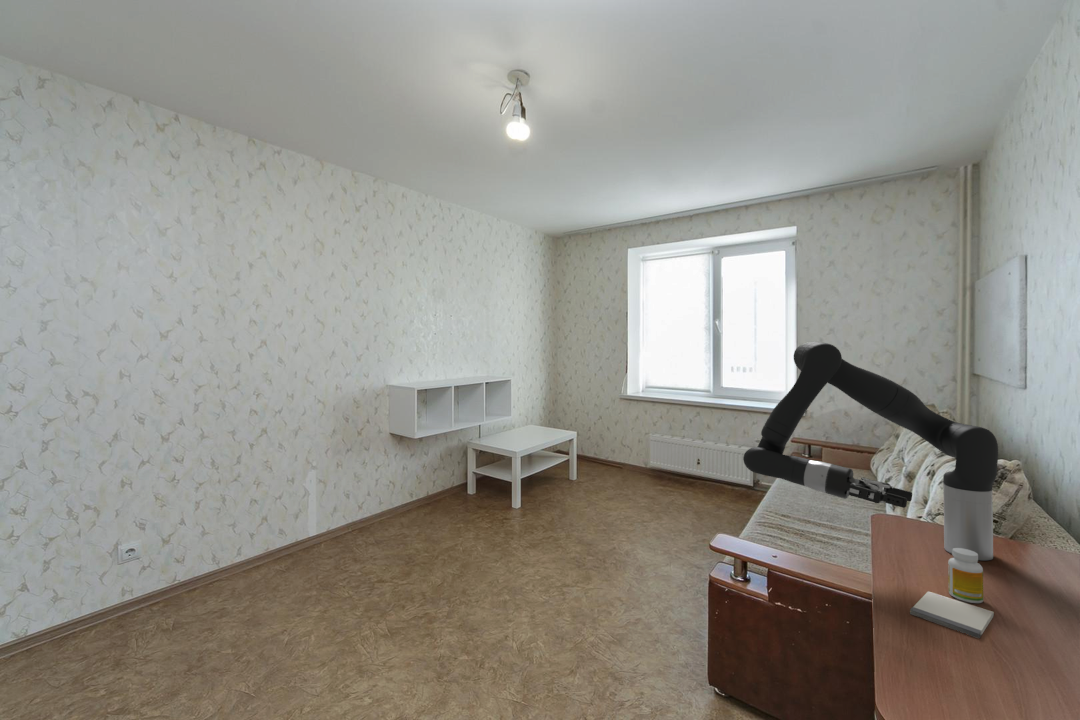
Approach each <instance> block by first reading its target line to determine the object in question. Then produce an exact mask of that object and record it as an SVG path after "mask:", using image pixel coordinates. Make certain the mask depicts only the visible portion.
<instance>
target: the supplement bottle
mask: <svg viewBox="0 0 1080 720" xmlns="http://www.w3.org/2000/svg"><path fill="white" fill-rule="evenodd" d="M951 555H952V557H950V558H949V559H948V563H947V565H948V568H947V571H948V574H947V575H948V577H947V579H948V580H947V582H948V594H949V595H950V596H952V597H953V598H955V599H956V600H958V601H961V602H964V603H968V604H981V603H983V602H984V568H983V566H982V565H981V564H980V563H978V562H979V560H978V554H977V553H976V552H974V551H971V550H968V549H963V548H953V549H952V553H951Z"/></svg>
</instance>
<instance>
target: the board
mask: <svg viewBox="0 0 1080 720" xmlns="http://www.w3.org/2000/svg"><path fill="white" fill-rule="evenodd" d="M994 614H995V613H994V611H991V610H989V609H985V608H982V607H980V606H976V605H973V604H971V603H968V602H965V601H962V600H959V599H954V598H951V597H948V596H944V595H941V594H939V593H936V592H931V591H929V590H928V591H926V593H925V594H924V595H923V596H922V597H921V598H920V599H919V600H918V601H917V602H916V603H915V604H914V606H912V607H911V608H910V609H909V615H911V616H915V617H917V618H921V619H922V620H926V621H928V622H931V623H934V624H937V625H940V626H943V627H945V628H948V629H951V630H953V631H956V630H957V631H956V632H959V631H960V632H959V633H962V634H964V633H966V634H965V635H967V634H968V635H967V636H970V635H971V636H970V637H974V638H976V639H978V638H979V639H981V637H982V635H983V633H984V632H985V630H986V629H987V628H988V626H989V624H990V623H991V621H992V619H993V618H994V617H995V616H994Z"/></svg>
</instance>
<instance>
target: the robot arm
mask: <svg viewBox="0 0 1080 720" xmlns="http://www.w3.org/2000/svg"><path fill="white" fill-rule="evenodd" d="M841 353H842V352H841V351H840V350H839V348H838V347H837V346H835V345H834V344H830V343H827V342H821V341H808V342H804V343H802V344H800V345H799V346H797V347H796V349H795V350H794V353H793V362H794V364H795V366H796V368H797V369H799V371H800V372H799V375H798V377H797V380H796V381H795V383H794V384H793V386H792V387H791V388H790V389H789V391H788V392H787V393H786V394H785V395H784V397H783V398H782V399H781V400H780V401H779V402H778V403H777V404H776V406H775V407H774V408H773V409H772V411H771V413H770V414H769V416H768V418H767V420H766V421H765V423H764V425H763V427H762V429H761V433H760V435H761V439H760V441H759V443H758V446H754V447H751V448H749V449H747V450H746V451H745V452H744V454H743V457H742V458H743V459H742V460H743V464H744V466H745V467H746V468H747V469H748V471H751V472H752V473H755V474H758V475H763V476H767V477H771V478H776V479H782V480H785V481H788V482H790V483H793V484H796V485H800V486H804V487H807V488H809V489H811V490H814V491H816V492H817V491H818V492H820V493H824V494H827V495H829V496H830V495H831V496H834V497H838V498H841V499H844V500H845V499H848V498H849V496H850V497H855V498H858V499H861V500H865V501H868V502H872V503H875V504H887V505H892V506H896V507H898V508H899V507H900V508H903V509H904V508H906V507H907V505H908V502H911V501H912V499H913V492H912V491H909V490H906V489H901V488H897V487H893V485H891V484H890V483H889V482H883V481H879V480H874V479H871V478H866V477H861V478H859V479H858V478H854V470H853V469H852V468H850V467H845V466H841V465H838V464H837V465H836V464H834V463H829V462H825V461H821V460H813V459H809V458H805V457H800V456H797V455H796V456H795V455H788V454H784V451H785V448H786V446H787V444H788V442H789V440H790V439H791V437H792V436H793V433H794V432H795V430H796V428H797V426H798V424H799V423H800V422H801V420H802V418H803V416H804V415H805V413H806V412H807V411H808V409H809V407H810V406H811V405H812V403H813V401H814V400H816V397H817V396H818V395H819V394H820V393H821V391H822V390H823V388H824V387H825V386H826V385H827V384H829V385H830V386H833V387H835V388H837V389H838V390H839V391H841V392H842V393H844V394H845V395H846V396H848V397H849V398H851V399H852V400H854V401H856V402H857V403H859V404H860V405H862V406H863V407H865V408H866V409H868V410H870V411H871V412H873V413H874V414H877V415H879V416H880V417H882V418H883V419H886V420H888V421H889V422H892V423H893V424H895V425H897V426H899V427H902V428H904V429H906V430H908V431H910V432H912V433H914V434H916V435H918V436H919V437H920V438H922V439H923V440H925V441H926V442H928V444H930V445H932V446H933V447H934V448H936V449H937V450H938V451H939V452H941V453H943V454H945V455H946V456H949V457H951V458H954V459H955V465H954V469H953V470H951V471H946V472H944V473H943V478H942V480H943V481H942V482H943V483H942V484H943V487H942V488H943V541H944V542H943V543H944V545H943V546H944V550H945V551H946V552H947V553H949V554H952V549H953V548H963V549H968V550H971V551H974V552H976V553H977V554H978V561H985V562H986V561H992V560H993V559H994V524H993V523H994V522H993V521H994V517H993V516H994V514H993V513H994V510H993V505H994V504H993V503H994V502H993V484H994V482H995V481H996V479H997V477H998V476H997V475H998V464H999V463H998V462H999V461H998V459H999V446H998V445H999V444H998V440H997V438H996V436H995V435H994V433H993V432H992V431H990V430H989V429H988V428H984V427H982V426H977V425H972V424H965V423H961V422H957V421H954V420H951V419H949V418H946V417H944V416H942V415H940V414H938V413H936V412H934V411H933V410H931V409H930V408H929V407H928V406H927V405H925V403H924V402H923V401H922V400H921V399H920V398H919V397H918V395H916V394H915V393H913V392H912V391H911V390H909V389H907V388H906V387H903V386H902V385H900V384H898V383H897V382H895V381H893V380H891V379H889V378H886V377H885V376H882V375H879V374H878V373H875V372H872V371H869V370H866V369H864V368H861V367H858V366H856V365H854V364H851V363H850V362H848V361H846V360H845V359H843V358H842V357H843V356H842V354H841Z"/></svg>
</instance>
